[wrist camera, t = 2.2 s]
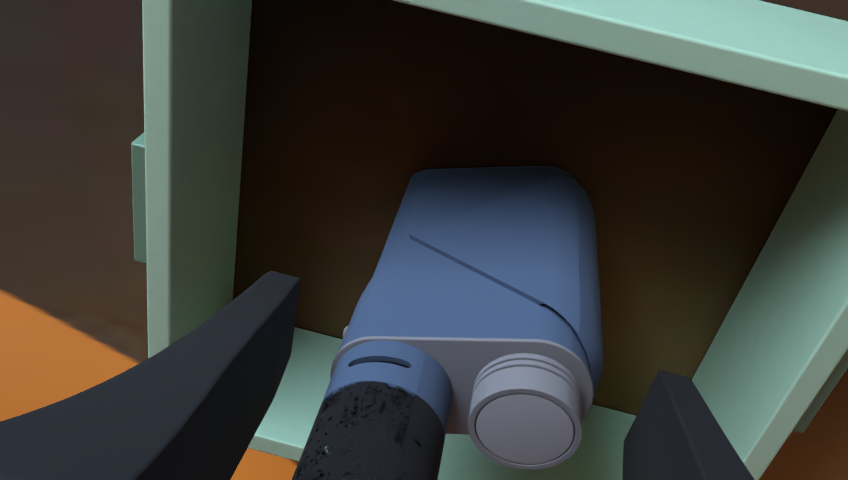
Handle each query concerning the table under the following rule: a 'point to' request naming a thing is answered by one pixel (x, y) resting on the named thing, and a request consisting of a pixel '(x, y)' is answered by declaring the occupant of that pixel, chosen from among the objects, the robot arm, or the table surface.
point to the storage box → (567, 22)
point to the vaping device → (468, 330)
